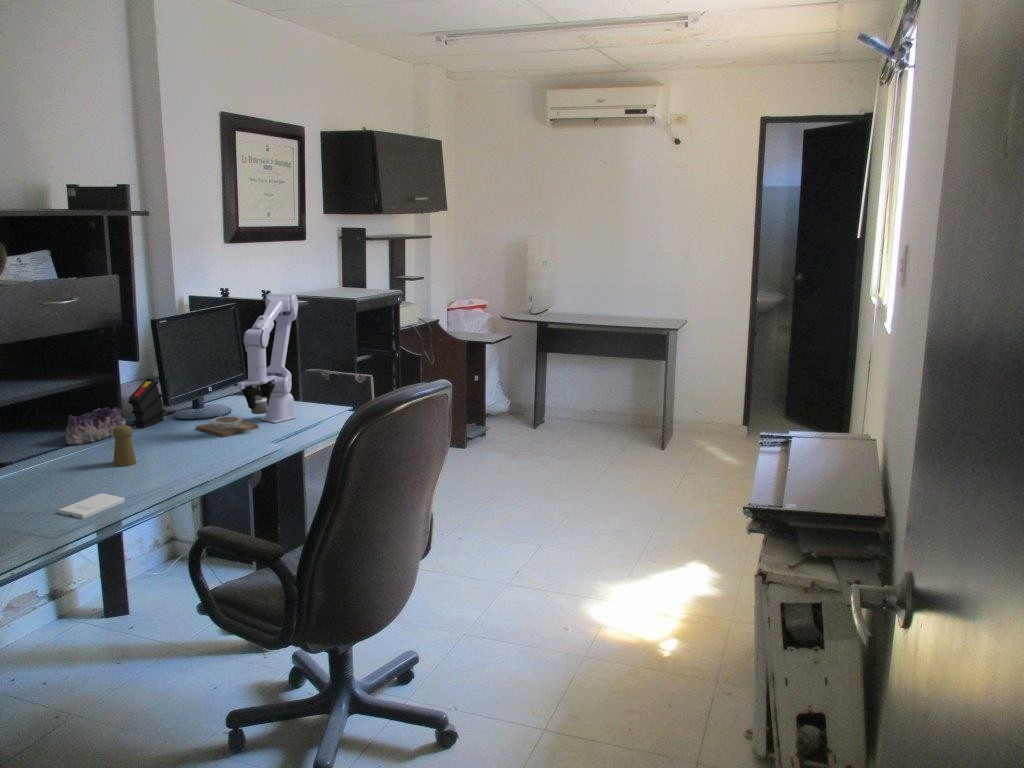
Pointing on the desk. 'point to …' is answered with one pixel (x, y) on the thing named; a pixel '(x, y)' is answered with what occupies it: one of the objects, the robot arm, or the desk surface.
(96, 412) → the geode
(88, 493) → the desk surface
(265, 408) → the charcoal lens
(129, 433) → the cork
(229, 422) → the mount ring
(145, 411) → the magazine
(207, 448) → the desk surface
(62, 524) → the desk surface
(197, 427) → the walnut board
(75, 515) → the external hard drive
